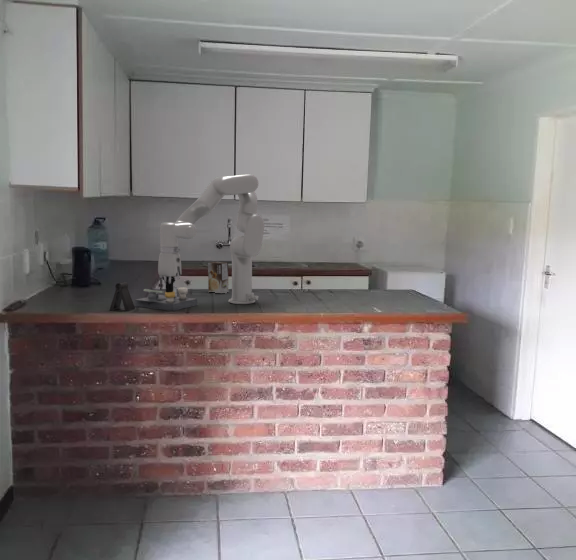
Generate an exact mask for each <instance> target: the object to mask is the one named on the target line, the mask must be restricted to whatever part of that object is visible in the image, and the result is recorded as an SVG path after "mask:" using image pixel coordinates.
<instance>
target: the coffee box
mask: <svg viewBox="0 0 576 560" xmlns="http://www.w3.org/2000/svg"><path fill="white" fill-rule="evenodd" d="M207 270H208V271H207V275H208V276H207V277H208V279H207V280H208V281H207V283H208V286H207V287H208V288H207V289H208V293H209V292H215V293H225V294H228V293H227V292H229V262H226V261H225V262H224V261H222V262H221V261H210V262H207ZM215 293H214V294H215Z"/></svg>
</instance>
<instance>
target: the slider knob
mask: <svg viewBox="0 0 576 560" xmlns="http://www.w3.org/2000/svg"><path fill="white" fill-rule="evenodd" d="M173 291H175V296H176V297H178V296H177V295H178V287H177V286H176V285H175V284H173Z"/></svg>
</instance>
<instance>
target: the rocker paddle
mask: <svg viewBox="0 0 576 560" xmlns="http://www.w3.org/2000/svg"><path fill="white" fill-rule="evenodd" d="M143 292H147V293H148V295H149V294H153V295H159V294H164V290H156V289H148V288H144V289H143Z"/></svg>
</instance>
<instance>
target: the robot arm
mask: <svg viewBox="0 0 576 560" xmlns="http://www.w3.org/2000/svg"><path fill="white" fill-rule="evenodd" d="M258 187H259V180H258V178H257V176H255V175H254V174H252V173H246V174H245V173H243V174H236V175H228V176H227V175H226V176H222V175H221V176H217V177H214V178H213V179H212V180H210V182H209V184H208V185H207V186H206V187H205V189H204V190H203V191H202V193H201V194H200V195H199V197H198V198H197V199H196V200H195V201H194V202H193V203H191V205H190V206H189V207H187V208H186V209H185V210H184V211H183V212H182V213H181V214H180V216H179V217H178V218H177V219H176V221H175V222H169V221H168V222H161V223H160V227H159V229H160V253H159V257H158V263H157V272H158V273H157V274H158V277H159V279H162V280H163V283H165V292H173V285H174V283H175V282H176V281H178V280H180V279H181V278H180V277H181V276H182V274H183V273H182V270H183V269H182V268H183V267H182V261H181V254H180V253H179V252H180V251H181V250H180V248H179V239H182V240H191V239H193V238H195V237H196V236H197V233H198V229H197V227H196V225H195V224H196V223H197V222H198V221H199V220H200V219H202V218H204V217H205V216H207V215H209V214H211V213H212V212H213V211H214V209H215V208H216V207H217V206H218V204H219V203H220V202H221V201H222V199H223V198H224V196H235V195H236V196H237V197H238V200H239V204H238V211H237V219H236V224H235V226H236V229H237V230H238V231H239V232H240V233H243V235H237V236H235V237H233V238H232V240H231V241H230V247H229V249H230V256H231V298H229V299H228V303H229V304H230V303H231V304H234V305H235V304H236V305H248V304H249V305H250V304H254V303H256V301H258V300H259V295H255V293H254V292H253V263H252V262H253V260H252V258H254V257H256V256H258V255H259V254H260V252H261V249H262V244H263V239H264V232H265V220H264V218H263V217H262V216H261V215H260V214H258V213H257V211H258V197H257V194H256V191H257V189H258Z"/></svg>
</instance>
